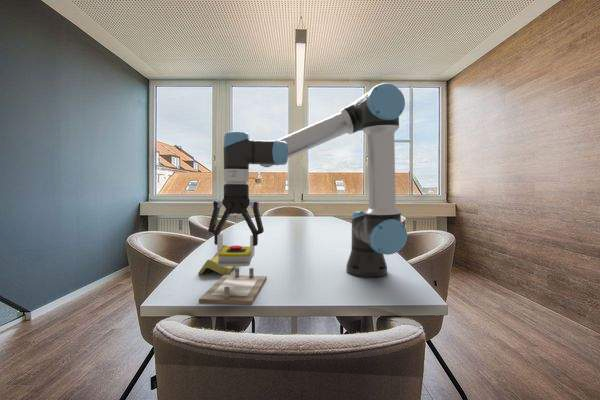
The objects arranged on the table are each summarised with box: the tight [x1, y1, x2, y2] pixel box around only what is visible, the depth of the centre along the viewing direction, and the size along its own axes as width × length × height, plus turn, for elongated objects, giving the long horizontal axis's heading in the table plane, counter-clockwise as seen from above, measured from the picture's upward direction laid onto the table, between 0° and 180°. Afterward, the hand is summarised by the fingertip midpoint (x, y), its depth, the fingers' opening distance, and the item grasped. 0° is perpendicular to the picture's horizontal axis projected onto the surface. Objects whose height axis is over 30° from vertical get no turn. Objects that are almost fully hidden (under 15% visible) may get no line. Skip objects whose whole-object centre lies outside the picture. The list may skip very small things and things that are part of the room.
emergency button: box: [217, 245, 253, 267], centre depth 99 cm, size 9×4×15 cm
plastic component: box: [198, 244, 235, 276], centre depth 123 cm, size 20×7×10 cm
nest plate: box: [198, 266, 268, 305], centre depth 99 cm, size 23×15×4 cm, turn 176°
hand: (236, 255), depth 98 cm, fingers closed on emergency button, 9 cm apart
